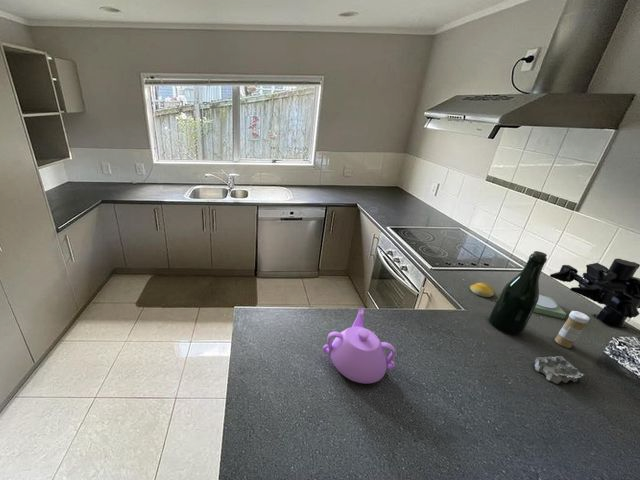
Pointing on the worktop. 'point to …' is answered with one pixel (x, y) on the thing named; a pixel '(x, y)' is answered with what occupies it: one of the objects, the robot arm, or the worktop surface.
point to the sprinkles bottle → (572, 329)
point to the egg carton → (557, 369)
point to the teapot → (359, 353)
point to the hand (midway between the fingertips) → (560, 282)
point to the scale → (549, 307)
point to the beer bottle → (519, 297)
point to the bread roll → (482, 289)
